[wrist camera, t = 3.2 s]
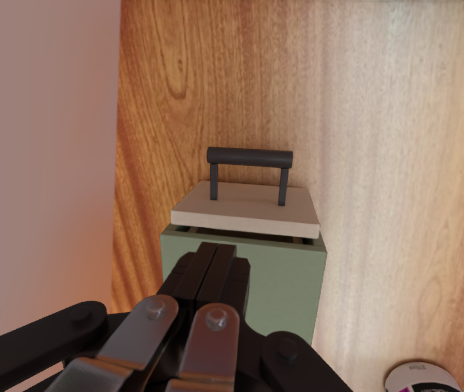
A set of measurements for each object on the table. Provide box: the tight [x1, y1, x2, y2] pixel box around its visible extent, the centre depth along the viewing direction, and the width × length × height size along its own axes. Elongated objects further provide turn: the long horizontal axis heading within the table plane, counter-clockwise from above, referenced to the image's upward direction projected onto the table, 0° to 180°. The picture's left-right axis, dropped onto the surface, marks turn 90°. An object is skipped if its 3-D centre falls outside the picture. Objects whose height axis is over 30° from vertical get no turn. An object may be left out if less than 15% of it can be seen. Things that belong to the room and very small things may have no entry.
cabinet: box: [160, 223, 327, 346], centre depth 28 cm, size 16×13×11 cm
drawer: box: [171, 147, 320, 244], centre depth 26 cm, size 19×12×9 cm, turn 178°
